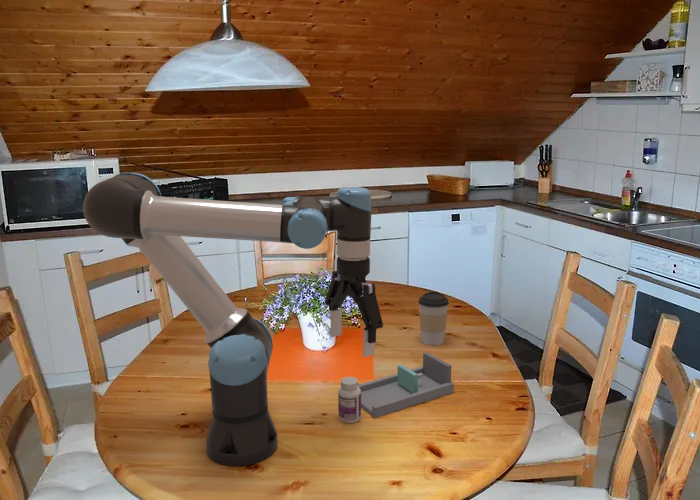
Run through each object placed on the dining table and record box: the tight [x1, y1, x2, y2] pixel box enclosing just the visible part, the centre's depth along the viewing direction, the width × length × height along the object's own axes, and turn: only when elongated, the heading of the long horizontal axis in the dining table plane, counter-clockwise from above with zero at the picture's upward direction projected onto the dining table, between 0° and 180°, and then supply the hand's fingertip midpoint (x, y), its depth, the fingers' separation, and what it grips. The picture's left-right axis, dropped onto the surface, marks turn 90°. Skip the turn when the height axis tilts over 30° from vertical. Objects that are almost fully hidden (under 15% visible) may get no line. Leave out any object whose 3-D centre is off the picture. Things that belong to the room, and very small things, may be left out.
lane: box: [358, 351, 455, 419], centre depth 154 cm, size 24×12×7 cm, turn 121°
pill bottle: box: [337, 376, 362, 424], centre depth 143 cm, size 5×5×10 cm
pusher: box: [397, 363, 423, 393], centre depth 156 cm, size 5×7×5 cm
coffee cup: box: [418, 290, 449, 346], centre depth 187 cm, size 9×9×15 cm
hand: (351, 345), depth 142 cm, fingers open, 13 cm apart
